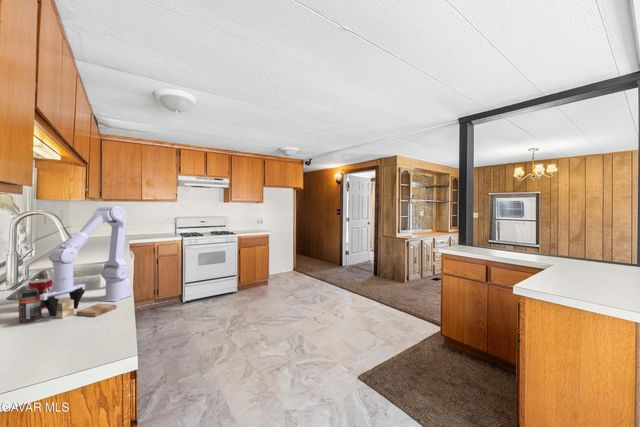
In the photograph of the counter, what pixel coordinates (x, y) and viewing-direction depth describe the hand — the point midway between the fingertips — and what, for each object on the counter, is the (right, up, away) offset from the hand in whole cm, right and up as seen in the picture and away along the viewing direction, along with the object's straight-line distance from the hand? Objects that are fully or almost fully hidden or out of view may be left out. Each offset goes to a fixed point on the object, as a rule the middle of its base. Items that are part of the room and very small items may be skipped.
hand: (64, 312), depth 106 cm
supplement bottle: (-10, -2, -3) cm, 10 cm away
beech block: (0, -2, 0) cm, 2 cm away
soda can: (-18, -2, +8) cm, 20 cm away
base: (+9, -2, +4) cm, 11 cm away
